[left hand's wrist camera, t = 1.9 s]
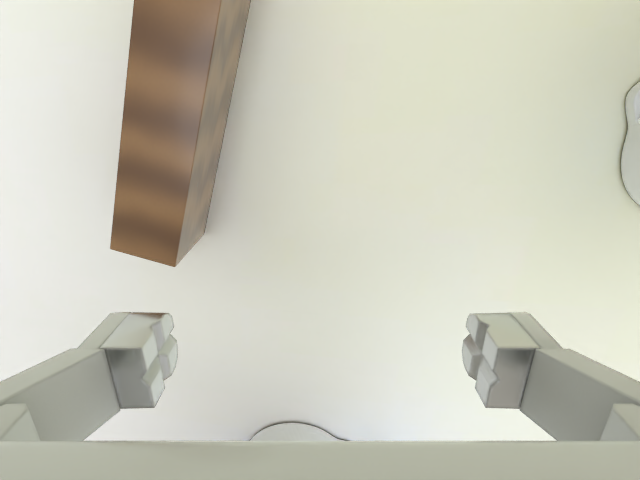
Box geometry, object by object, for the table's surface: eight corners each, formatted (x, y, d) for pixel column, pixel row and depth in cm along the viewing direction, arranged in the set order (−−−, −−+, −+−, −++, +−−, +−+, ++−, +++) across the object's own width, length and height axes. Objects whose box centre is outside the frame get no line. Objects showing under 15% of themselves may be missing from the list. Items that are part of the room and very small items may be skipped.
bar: (192, -77, 31) (145, -130, 23) (261, -52, 31) (238, -96, 24) (151, 219, 41) (109, 249, 33) (204, 234, 41) (174, 267, 34)
